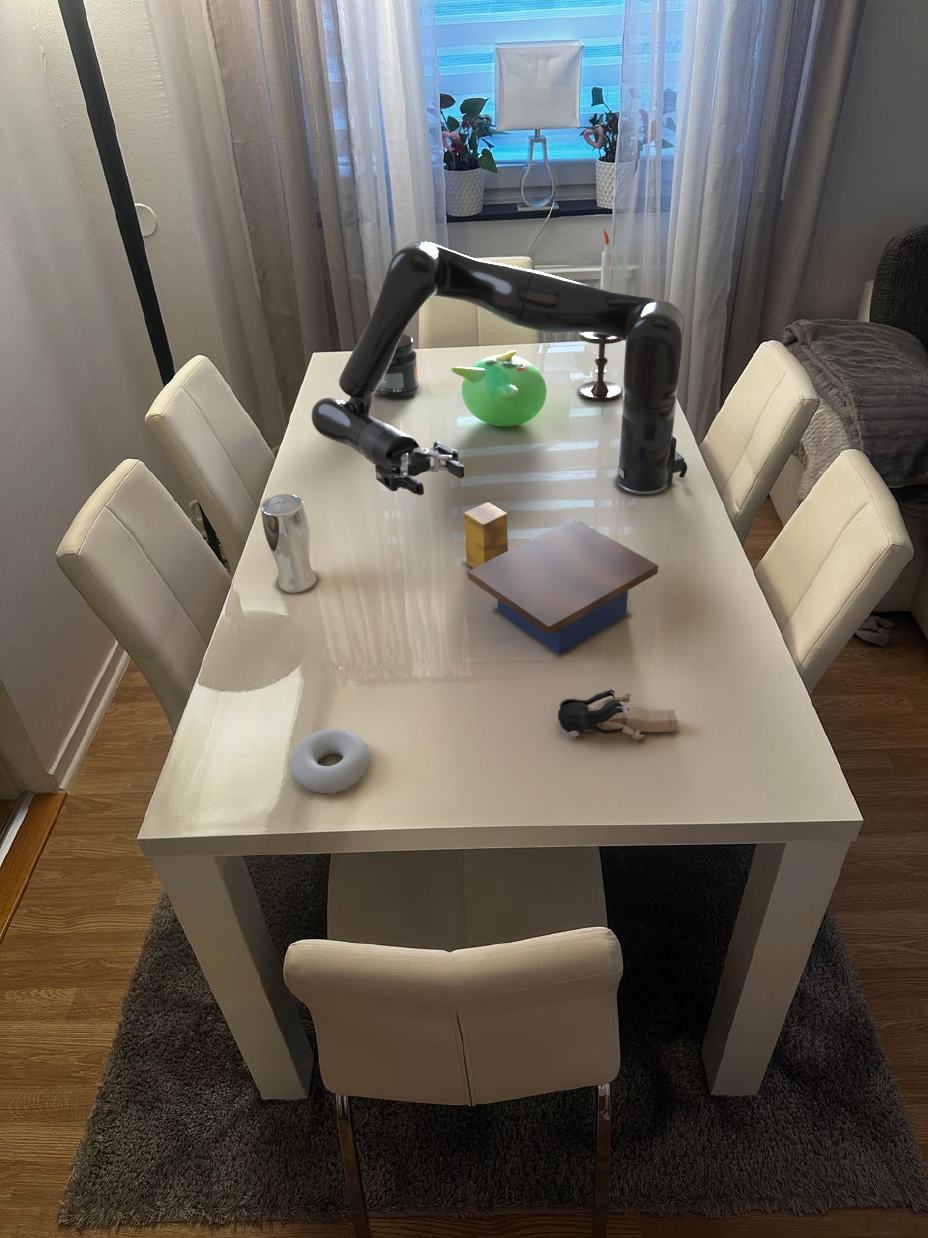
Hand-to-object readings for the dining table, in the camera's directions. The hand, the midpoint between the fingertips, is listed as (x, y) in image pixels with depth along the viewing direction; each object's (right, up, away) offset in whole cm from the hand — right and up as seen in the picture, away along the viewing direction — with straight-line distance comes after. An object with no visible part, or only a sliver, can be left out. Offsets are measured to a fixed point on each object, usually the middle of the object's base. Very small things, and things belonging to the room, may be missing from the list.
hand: (442, 481), depth 150 cm
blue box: (+19, -22, -12) cm, 31 cm away
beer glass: (-24, -17, -2) cm, 30 cm away
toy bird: (+12, +19, +41) cm, 47 cm away
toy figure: (+24, -38, -31) cm, 54 cm away
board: (+18, -17, -16) cm, 30 cm away
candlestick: (+34, +28, +51) cm, 67 cm away
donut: (-13, -43, -35) cm, 57 cm away
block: (+8, -14, 0) cm, 16 cm away
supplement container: (-12, +29, +57) cm, 65 cm away
